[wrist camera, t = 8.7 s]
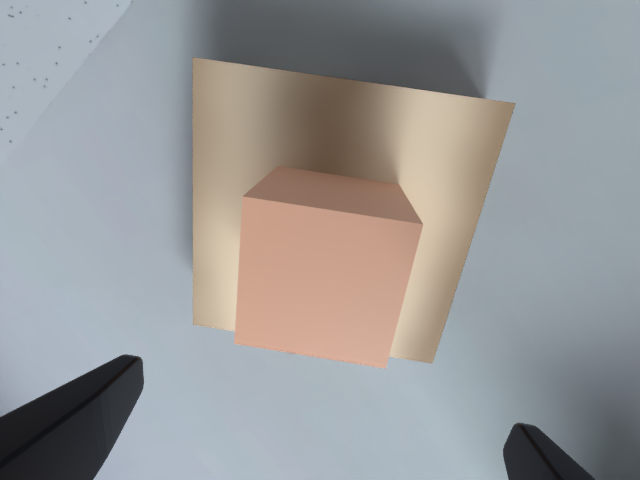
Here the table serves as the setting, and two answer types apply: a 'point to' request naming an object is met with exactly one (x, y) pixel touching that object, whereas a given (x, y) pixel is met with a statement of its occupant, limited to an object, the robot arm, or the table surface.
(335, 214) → the terracotta cube
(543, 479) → the robot arm
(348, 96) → the maple base
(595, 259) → the table surface
